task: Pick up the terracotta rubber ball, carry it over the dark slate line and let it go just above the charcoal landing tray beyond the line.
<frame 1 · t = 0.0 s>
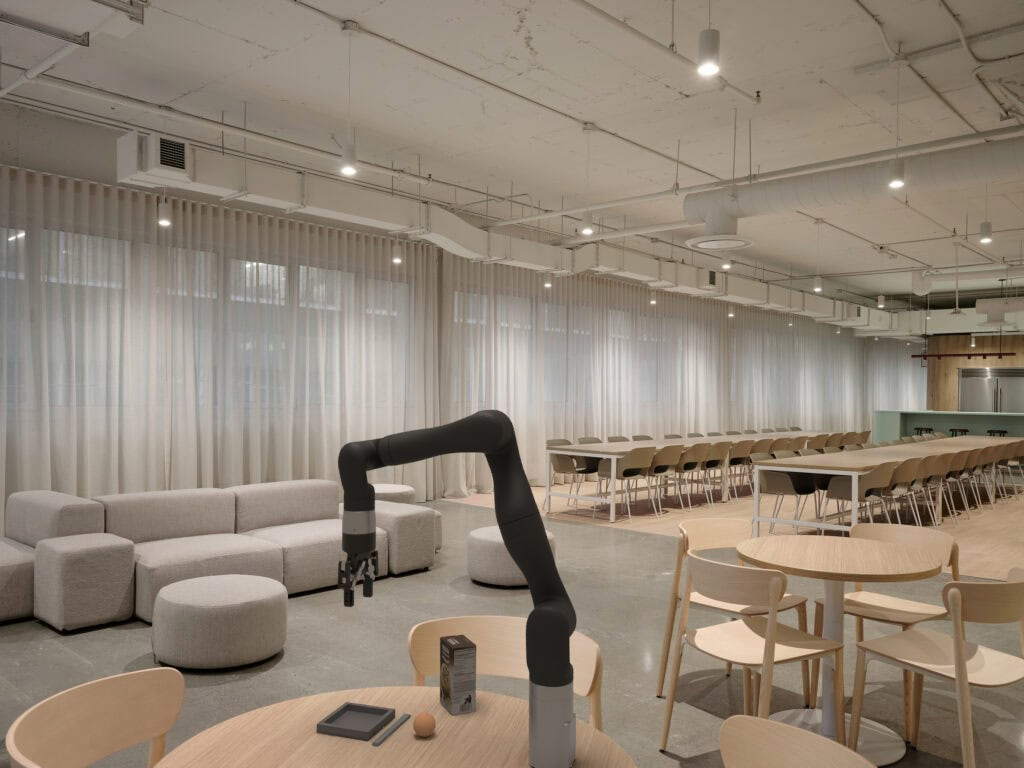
hand: (358, 601, 174), 29 cm above the table, tool pointing down, fingers open, 8 cm apart
ball: (424, 724, 172), point 2 cm above the table
landing tray: (356, 725, 177), on the table
distance line: (392, 730, 174), on the table
coffee box: (457, 707, 188), on the table
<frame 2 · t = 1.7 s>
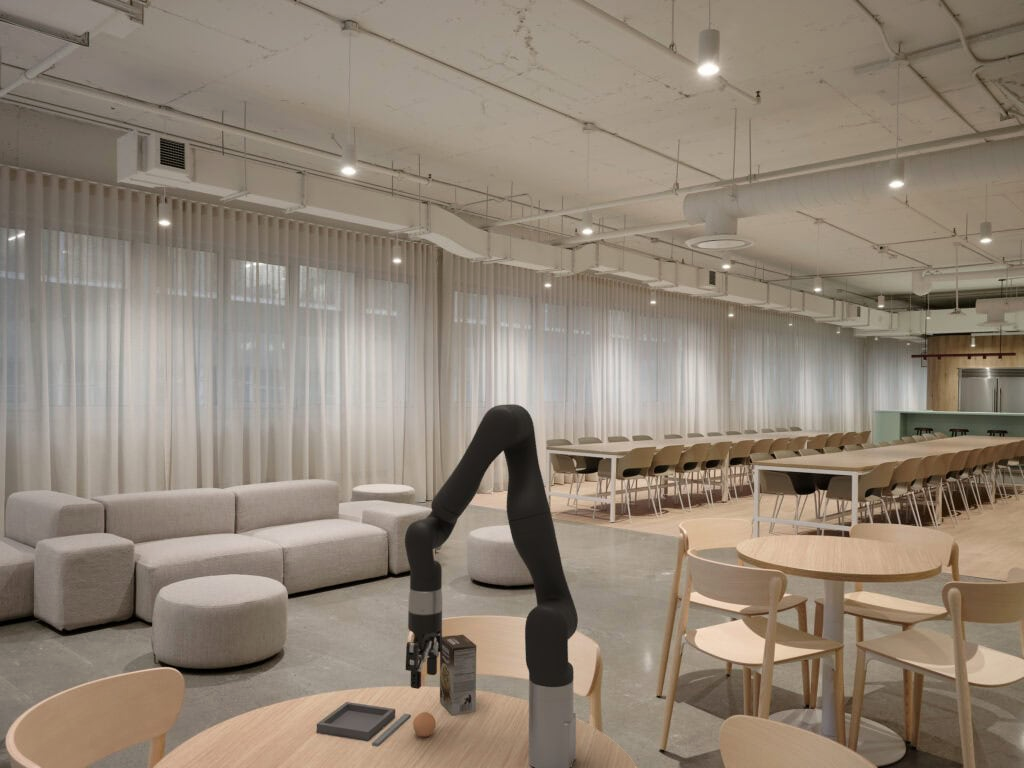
hand: (424, 680, 172), 12 cm above the table, tool pointing down, fingers open, 8 cm apart
nothing on the table moved.
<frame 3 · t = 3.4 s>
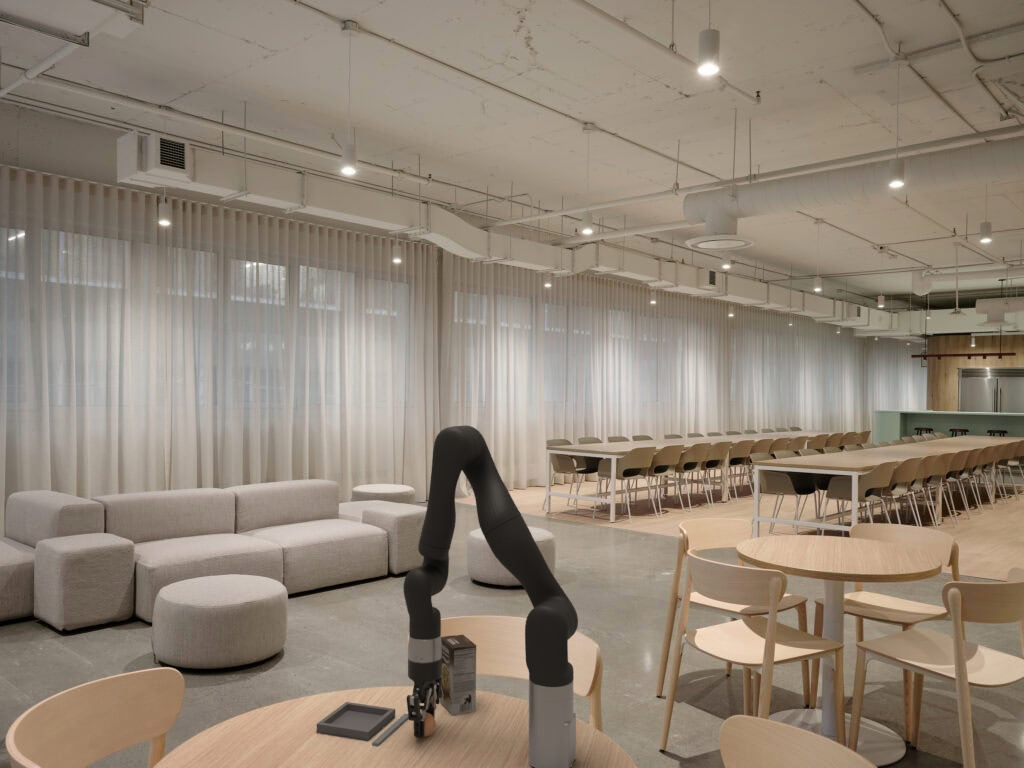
hand: (424, 731, 172), 1 cm above the table, tool pointing down, fingers closed on ball, 5 cm apart
ball: (424, 724, 172), point 2 cm above the table, touching gripper
everything else where it was.
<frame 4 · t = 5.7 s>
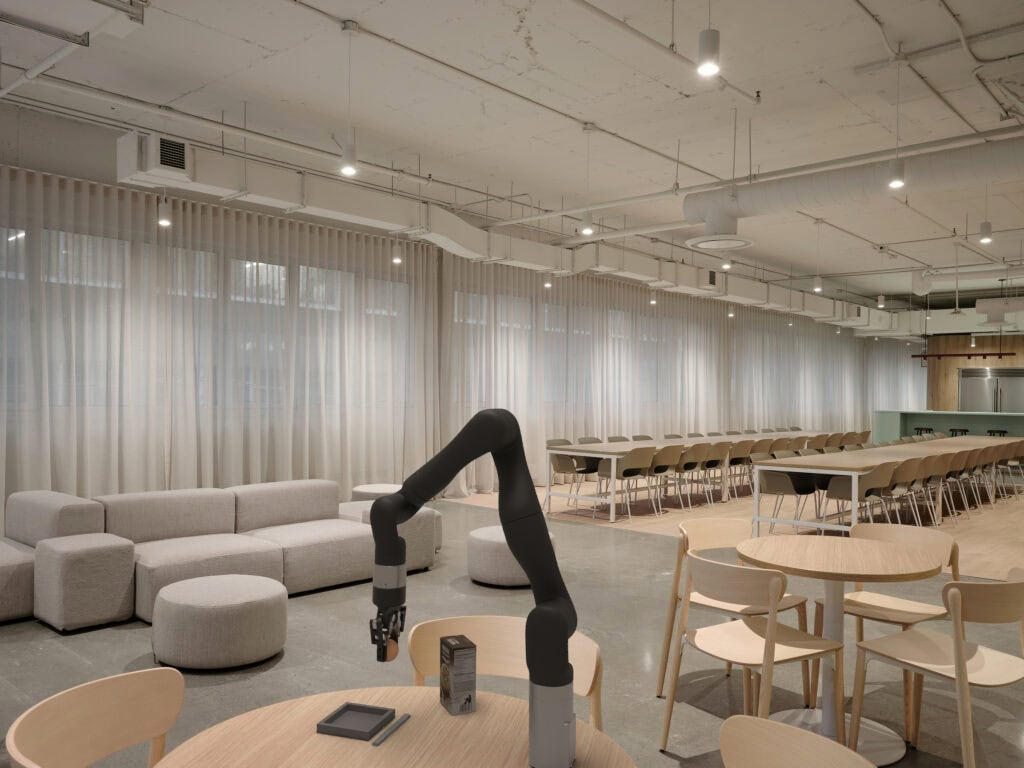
hand: (387, 657, 175), 16 cm above the table, tool pointing down, fingers closed on ball, 5 cm apart
ball: (387, 650, 175), point 18 cm above the table, touching gripper
everything else where it was.
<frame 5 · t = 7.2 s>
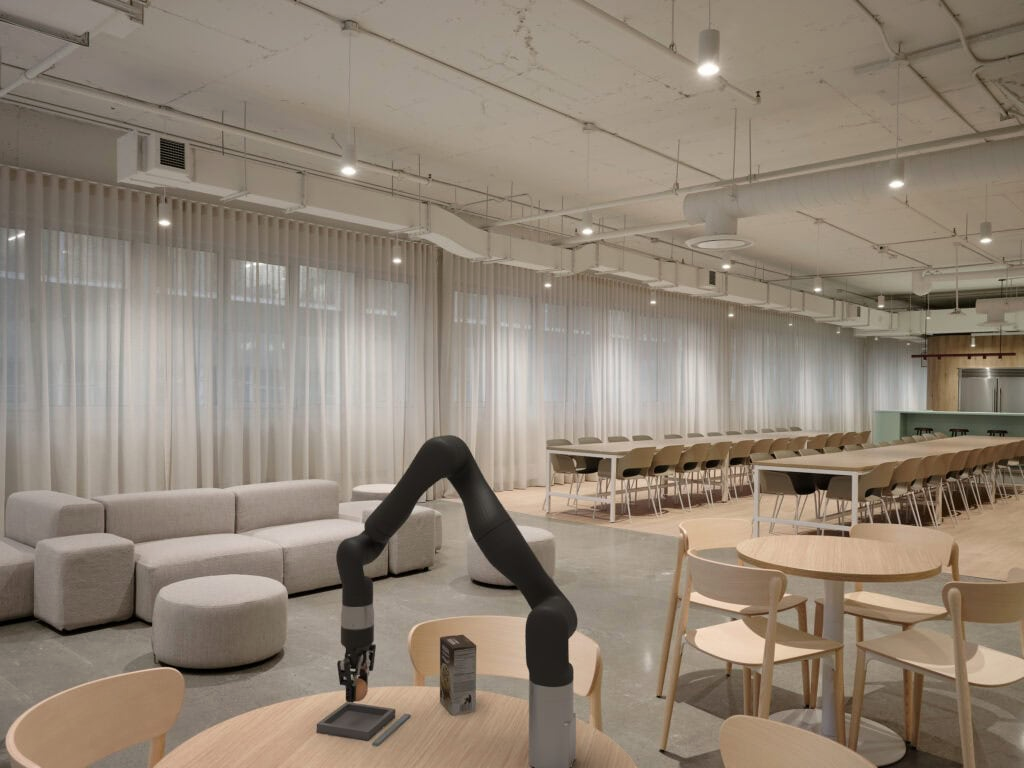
hand: (356, 696, 177), 6 cm above the table, tool pointing down, fingers closed on ball, 5 cm apart
ball: (356, 689, 177), point 8 cm above the table, touching gripper
everything else where it was.
when the fingers open (3 cm above the table, at t = 8.4 s): ball drops 1 cm, resting on landing tray.
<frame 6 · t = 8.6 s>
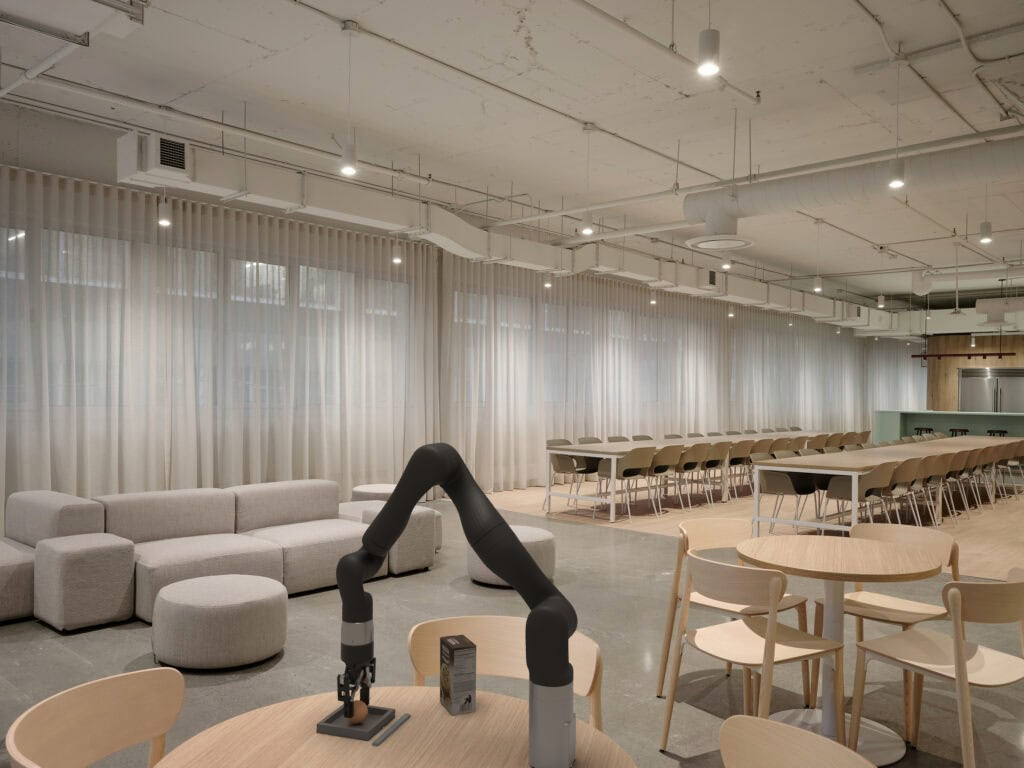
hand: (356, 710, 177), 3 cm above the table, tool pointing down, fingers open, 6 cm apart
ball: (356, 711, 177), point 3 cm above the table, touching landing tray
everything else where it was.
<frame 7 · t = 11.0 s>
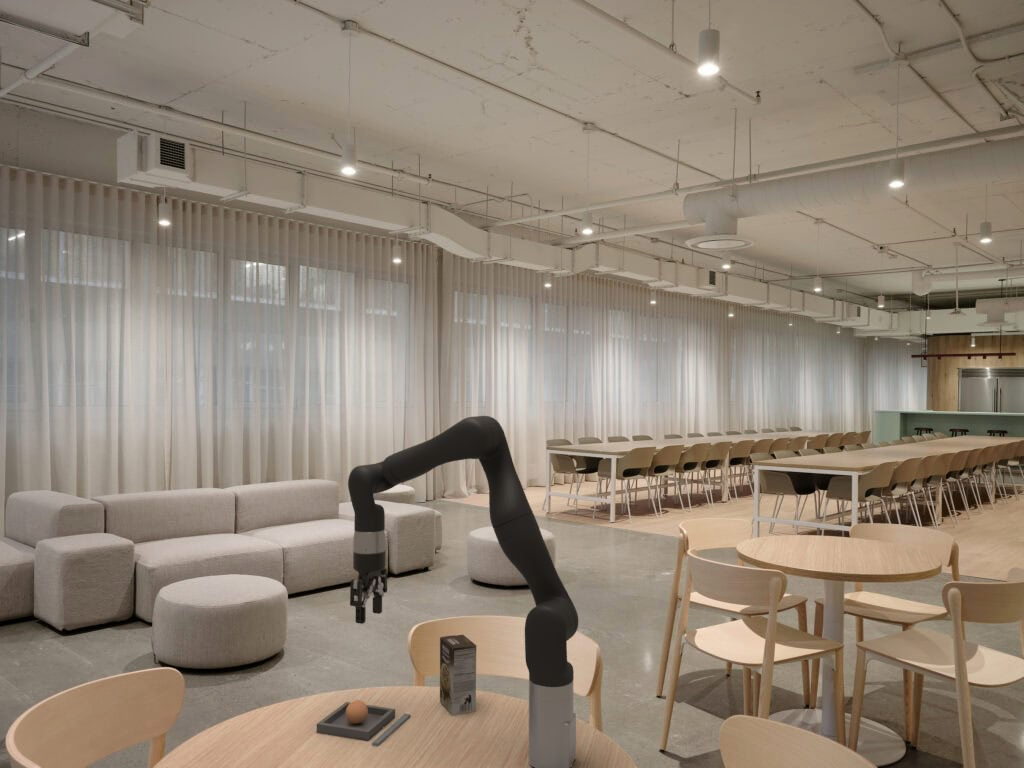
hand: (369, 617, 182), 23 cm above the table, tool pointing down, fingers open, 8 cm apart
nothing on the table moved.
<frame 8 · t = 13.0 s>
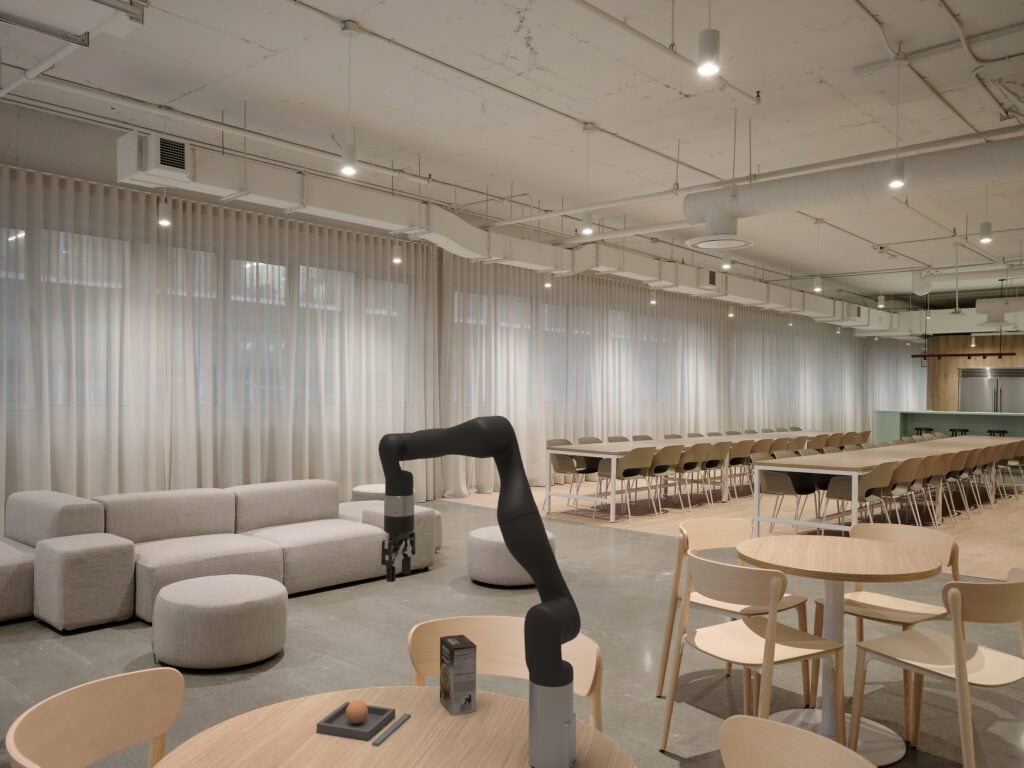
hand: (398, 577, 193), 30 cm above the table, tool pointing down, fingers open, 8 cm apart
nothing on the table moved.
at the end: ball inside the target area (0.0 cm from its centre), point 3.0 cm above the table; the gripper is holding nothing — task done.
